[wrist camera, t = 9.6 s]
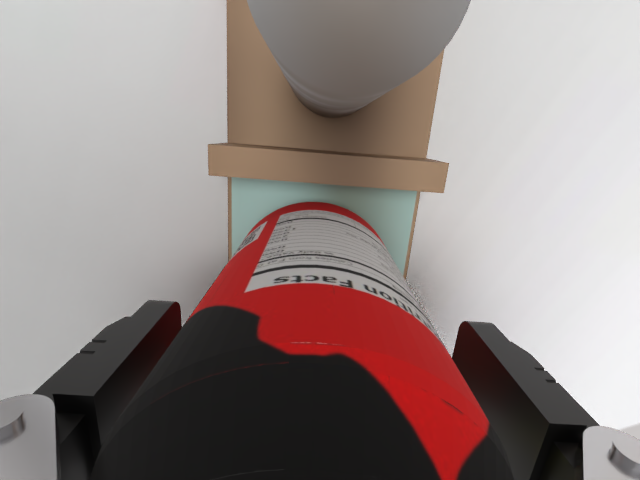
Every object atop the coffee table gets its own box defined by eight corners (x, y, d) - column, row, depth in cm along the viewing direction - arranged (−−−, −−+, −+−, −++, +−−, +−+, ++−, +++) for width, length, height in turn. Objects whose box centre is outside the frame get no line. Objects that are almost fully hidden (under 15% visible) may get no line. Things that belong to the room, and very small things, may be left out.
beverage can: (212, 271, 15) (-154, 746, 3) (308, 164, 13) (249, 343, 2) (317, 353, 16) (316, 895, 5) (414, 263, 15) (756, 720, 3)
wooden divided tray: (236, 337, 18) (151, 549, 9) (236, -51, 13) (32, -516, 4) (385, 346, 18) (454, 562, 9) (445, -31, 13) (746, -422, 4)
